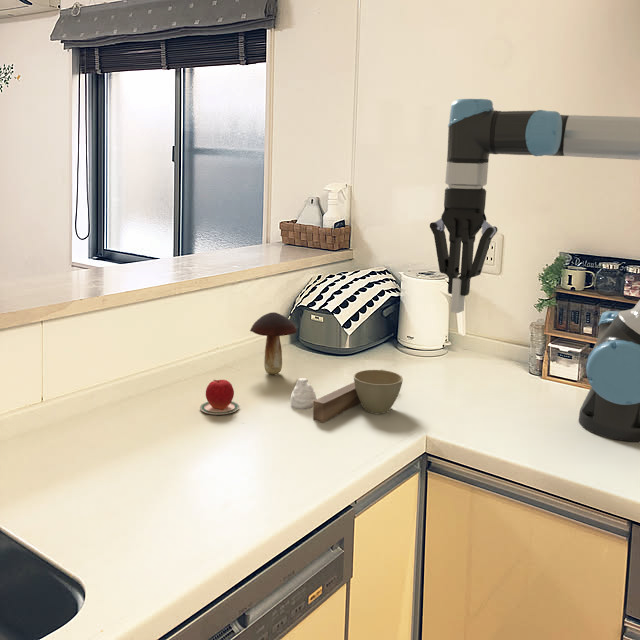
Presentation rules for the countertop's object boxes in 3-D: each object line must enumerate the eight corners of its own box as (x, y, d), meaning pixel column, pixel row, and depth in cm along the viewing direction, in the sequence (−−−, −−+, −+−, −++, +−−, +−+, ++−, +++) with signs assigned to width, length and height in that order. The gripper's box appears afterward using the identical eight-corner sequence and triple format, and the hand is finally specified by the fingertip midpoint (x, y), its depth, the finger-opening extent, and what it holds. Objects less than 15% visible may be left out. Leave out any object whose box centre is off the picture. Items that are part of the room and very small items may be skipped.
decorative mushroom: (246, 369, 171) (245, 308, 167) (290, 365, 174) (290, 306, 170) (255, 383, 160) (255, 319, 157) (302, 379, 164) (303, 316, 160)
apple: (193, 413, 142) (192, 382, 141) (210, 400, 150) (210, 371, 148) (229, 418, 140) (229, 387, 138) (245, 405, 147) (245, 375, 146)
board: (389, 388, 159) (390, 371, 158) (323, 422, 138) (323, 403, 138) (380, 386, 160) (381, 369, 159) (313, 419, 140) (313, 400, 139)
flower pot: (398, 420, 141) (400, 386, 139) (349, 415, 142) (350, 382, 141) (403, 403, 150) (404, 371, 148) (356, 399, 152) (357, 367, 150)
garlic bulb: (286, 379, 145) (298, 372, 150) (285, 407, 147) (297, 399, 151) (310, 383, 143) (321, 376, 148) (309, 411, 144) (320, 403, 149)
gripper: (507, 187, 130) (496, 313, 135) (442, 184, 137) (435, 303, 143) (491, 189, 124) (481, 320, 129) (424, 185, 131) (417, 309, 137)
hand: (457, 311), depth 136 cm, fingers closed
